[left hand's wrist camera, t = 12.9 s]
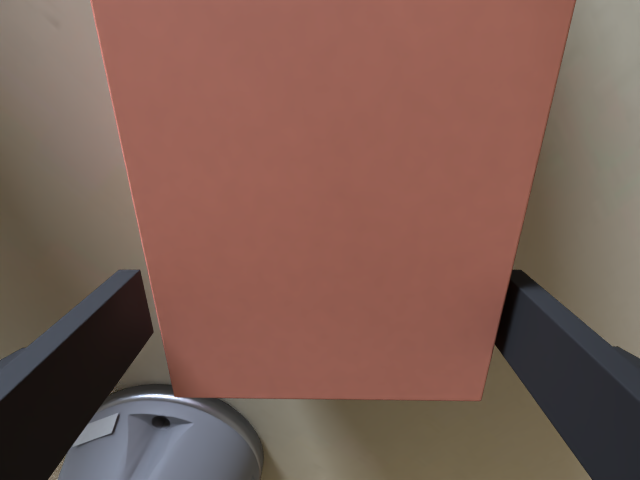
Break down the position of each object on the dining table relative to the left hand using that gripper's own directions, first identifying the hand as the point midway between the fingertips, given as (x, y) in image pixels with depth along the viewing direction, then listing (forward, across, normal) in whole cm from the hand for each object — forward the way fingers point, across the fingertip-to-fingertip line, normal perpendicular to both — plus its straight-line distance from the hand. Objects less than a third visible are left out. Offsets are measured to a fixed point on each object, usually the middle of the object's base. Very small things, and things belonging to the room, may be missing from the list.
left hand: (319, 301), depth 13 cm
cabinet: (+9, 0, -5) cm, 11 cm away
